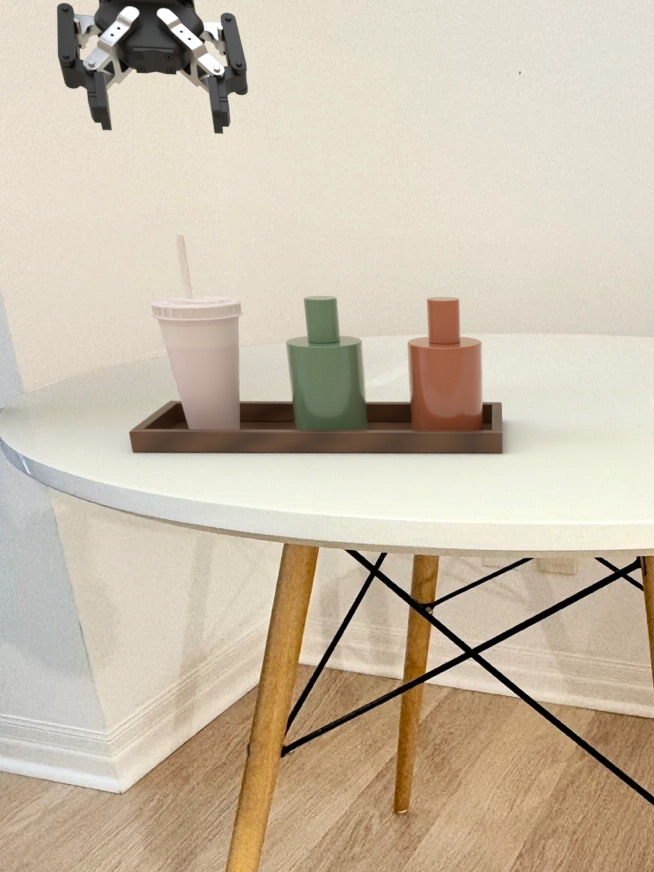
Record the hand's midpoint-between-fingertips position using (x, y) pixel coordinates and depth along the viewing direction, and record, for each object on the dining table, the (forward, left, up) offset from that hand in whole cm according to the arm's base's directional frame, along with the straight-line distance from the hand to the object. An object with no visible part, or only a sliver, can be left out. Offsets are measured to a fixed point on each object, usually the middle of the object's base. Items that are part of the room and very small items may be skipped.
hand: (162, 123), depth 80 cm
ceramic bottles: (+18, -14, -21) cm, 31 cm away
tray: (+13, -14, -22) cm, 29 cm away
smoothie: (+4, -14, -21) cm, 26 cm away
